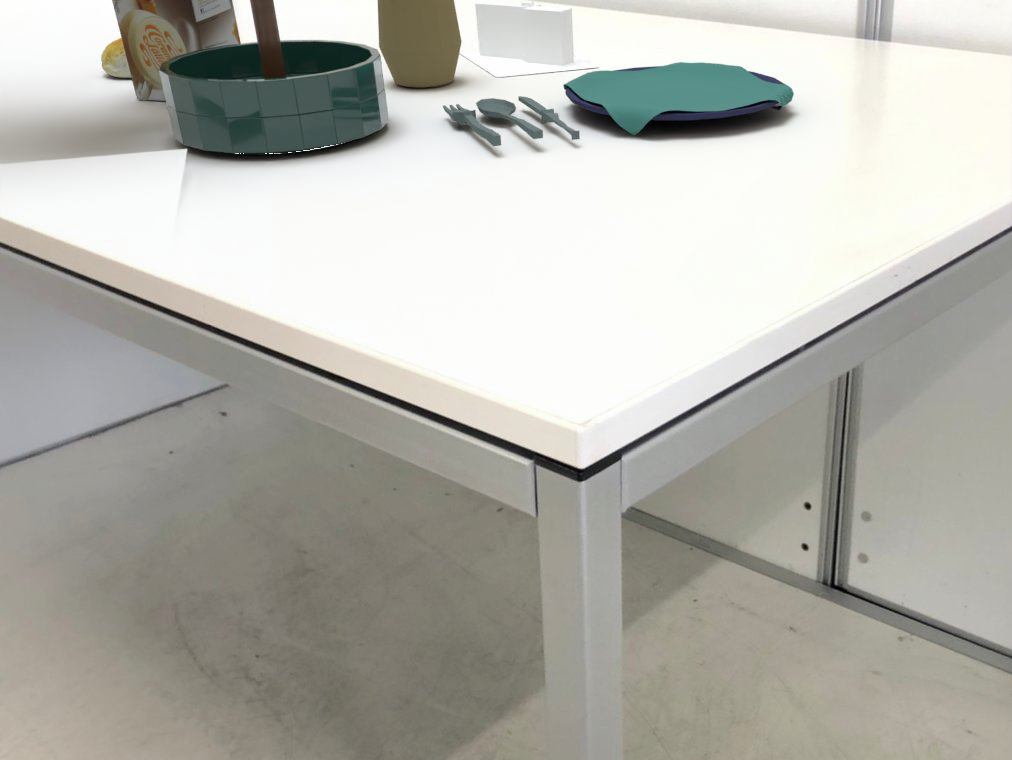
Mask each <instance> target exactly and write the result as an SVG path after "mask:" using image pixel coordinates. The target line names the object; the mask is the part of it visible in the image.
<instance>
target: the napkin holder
mask: <svg viewBox="0 0 1012 760" xmlns="http://www.w3.org/2000/svg"><path fill="white" fill-rule="evenodd" d="M474 6H475V16H476V28H477V29H476V30H477V40H478V41H477V42H478V50H471V51H460V52H459V55H461V56H462V57H464V58H466V59H468V60H469V61H470V62H472V63H474V64H475V65H477V66H478V67H480V68H481V69H483V70H484V71H486V72H487V73H489V74H490V75H492V76H494V77H495V78H505V77H514V76H515V77H516V76H525V75H535V74H546V73H556V72H557V73H558V72H568V71H575V70H576V71H577V70H586V69H597V68H599V66H597V65H595V64H593V63H591V62H588V61H587V60H586V59H583V58H581V57H579V56H577V55H575V53H574V52H575V51H574V49H575V48H574V29H573V27H574V26H573V25H574V24H573V8H572V7H557V6H545V5H544V6H542V4H541V3H535V2H534V1H522V2H514V1H501V0H485V1H480V2H476V3H475V5H474Z"/></svg>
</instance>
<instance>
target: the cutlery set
mask: <svg viewBox="0 0 1012 760" xmlns="http://www.w3.org/2000/svg"><path fill="white" fill-rule="evenodd" d="M563 90H565V92H564V93H565V96H566V98H568V99H569V101H570V102H571V103H572V104H574V105H576V106H577V107H580V108H582V109H585V110H588V111H590V112H593V113H595V114H599V115H600V114H601V115H605V116H610V117H611V118H612V120H613V121H614V122H615V123H616V124H617V125H618V126H619V127H620V128H622V130H625V131H626V132H628V133H629V134H631V135H632V136H636V135H637V134H638V133H640V131H641V130H643V128H644V127H645V126H646V125H647V124H648V123H649V122H651V121H698V120H711V119H724V118H728V117H736V116H742V115H746V114H753V113H756V112H759V111H763V110H766V109H768V108H771V109H774V110H775V111H781V110H782V109H783V108H784V107H785V106H787V105H788V104H790V103H791V102H792V101H793V98H794V95H795V93H794V90H793V88H792V87H791V86H789V85H788V84H786V83H784V82H782V81H781V80H779V79H777V78H776V77H773V76H769V75H766V74H763V73H759V72H756V71H750V70H749V71H748V70H747V69H746V68H745V67H743V66H741V65H740V66H739V65H731V64H723V63H714V62H713V63H712V62H683V61H680V62H674V63H670V64H665V65H656V66H655V65H654V66H640V67H639V66H638V67H629V68H622V69H615V70H608V69H607V70H594V71H593V70H592V71H590V72H586V73H585V74H581V75H579V76H578V77H576V78H573V79H571V80H569V81H568V82H565V83H564V84H563ZM517 101H519V102H520V103H521V104H523V105H524V106H526V107H527V108H529V109H531V110H532V111H533V112H534V113H536V114H537V115H539V116H540V119H541V124H548V123H554V124H555V125H557V126H558V127H560V128H562V129H563V130H565V131H566V132H567V133H568V134H569V135H570V136H571V141H575V140H576V141H577V140H580V137H581V136H580V130H576V129H574V128H572V127H570V126H568V125H567V124H566V123H565V121H563V120H562V119H560V117H559V114H558V112H555V108H548V109H547V108H546V107H545V106H544V105H542V104H541V103H540V102H537V101H536V100H534V99H533V98H530V97H528V96H522V95H521V96H518V99H517ZM779 103H780V105H779ZM475 104H476V105H475V106H476V107H477V109H478V111H479V113H481V114H482V115H483V116H486V117H489V118H492V119H505V120H507V121H509V122H510V123H513V124H514V125H516V126H518V127H519V128H520V129H521V130H522V131H524V132H525V133H526V135H528V136H529V137H530V138H532V140H538V139H539V140H540V139H543V138H544V130H543V129H542V128H540V127H537V126H535V125H534V124H532V123H530V122H528V121H527V120H525V119H523V118H519V117H517V116H515V115H514V113H516V110H517V107H516V103H515V102H511V101H509V100H507V99H502V98H501V99H500V98H495V97H490V98H481V99H480V100H478V101H476V102H475ZM455 106H456V107H455ZM455 106H454V105H453V104H449V107H447V106H446V105H442V108H443V110H444V112H445V113H446V114H447V115H448V117H450V120H452V121H453V122H454V123H456V124H459V125H461V126H469V127H470V128H471V130H472V131H473V132H475V133H476V134H477V135H478V136H479V137H481V138H482V139H485V140H486V141H488V142H489V144H490V145H491V146H492V147H499V146H502V137H501V134H500V133H498V132H496V131H495V130H493V129H492V128H488V127H487V126H485V125H483V123H482V124H481V123H480V122H479V120H478V119H477V112H476V111H477V110H476V109H473V110H470V109H467V108H464V107H463V106H461V104H458V103H456V104H455Z"/></svg>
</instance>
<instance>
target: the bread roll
mask: <svg viewBox="0 0 1012 760" xmlns="http://www.w3.org/2000/svg"><path fill="white" fill-rule="evenodd" d="M100 59H101V68H102V70H103V72H105V73H106V74H107V75H109V76H111V77H113V78H120V79H132V77H131V73H130V69H129V65H128V62H127V58H126V54H125V50H124V46H123V42H122V38H121V37H119V38H117V39H115V40H113V41H112V42H110V43H108V44H107V45H106V46H105V48H104V50H103V51H102V54H101V57H100Z"/></svg>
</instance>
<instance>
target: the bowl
mask: <svg viewBox="0 0 1012 760" xmlns="http://www.w3.org/2000/svg"><path fill="white" fill-rule="evenodd" d="M280 42H281V48H282V54H283V60H284V65H285V71H286V78H272V79H264V76H263V70H262V64H261V59H260V53H259V48H258V42H257V41H252V42H243V43H242V42H241V44H233V45H225V46H219V47H213V48H208V49H202V50H197V51H193V52H189V53H186V54H182V55H179V56H175V57H173V58H171V59H169V60H167V61H165V62H163V63H161V66H160V69H159V73H160V77H161V81H162V86H163V90H164V95H165V99H166V101H165V103H166V108H167V112H168V117H169V121H170V125H171V129H172V134H173V138H174V139H175V140H176V141H177V142H179V143H180V144H182V145H183V146H185V147H190V148H193V149H197V150H202V151H206V152H216V153H221V152H224V153H223V154H228V153H239V154H240V153H241V154H243V153H244V154H265V153H267V154H269V153H273V154H274V153H288V152H296V151H303V150H310V149H314V148H321V147H324V146H330V145H336V144H341V143H344V142H348V141H350V142H352V140H353V141H356V140H359V139H363V138H366V137H367V136H369V135H371V134H374V133H376V132H379V131H380V130H382V129H383V128H384V127H385V126H386V125H387V123H388V122H389V119H390V118H389V111H388V105H387V96H386V95H387V94H386V89H385V88H386V87H385V79H384V72H383V65H382V64H383V63H382V54H380V52H379V50H378V49H377V48H375V47H372V46H369V45H366V44H364V43H356V42H350V41H343V40H328V39H326V40H325V39H282V40H281V39H280ZM355 139H356V140H355ZM348 143H349V142H348ZM344 144H345V143H344ZM341 145H342V144H341Z"/></svg>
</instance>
